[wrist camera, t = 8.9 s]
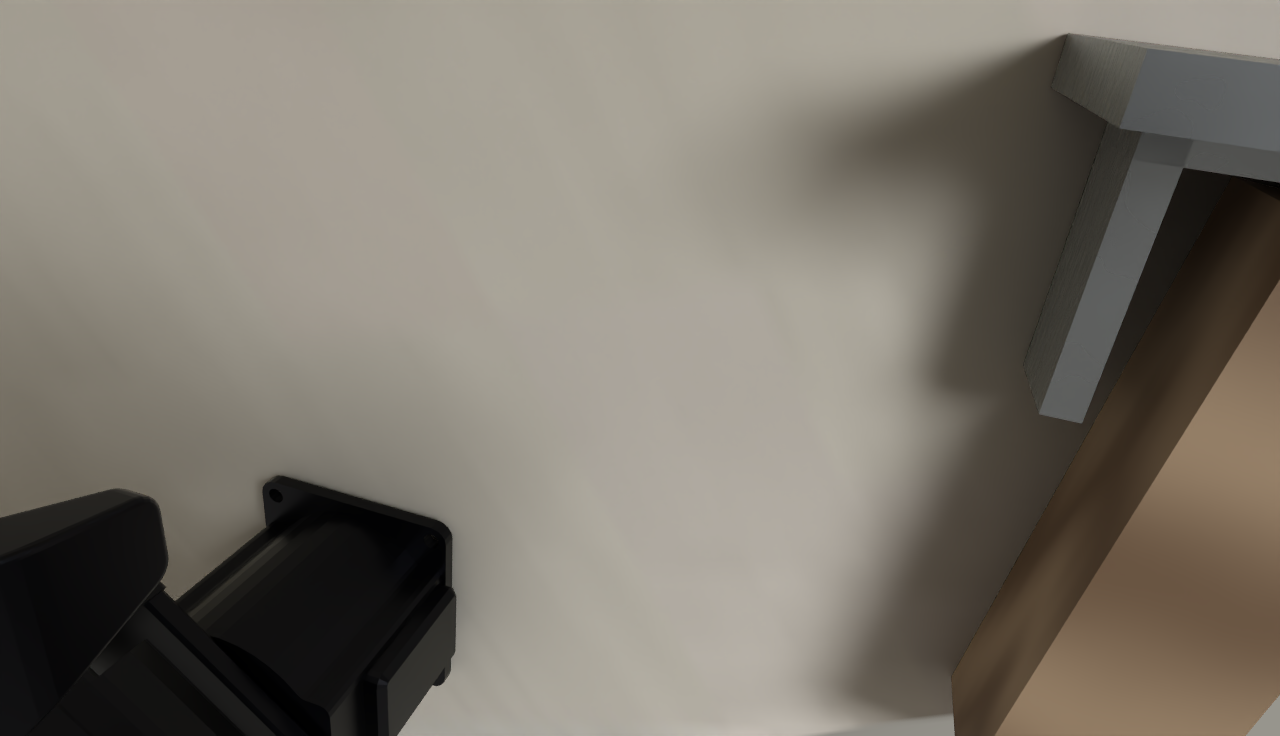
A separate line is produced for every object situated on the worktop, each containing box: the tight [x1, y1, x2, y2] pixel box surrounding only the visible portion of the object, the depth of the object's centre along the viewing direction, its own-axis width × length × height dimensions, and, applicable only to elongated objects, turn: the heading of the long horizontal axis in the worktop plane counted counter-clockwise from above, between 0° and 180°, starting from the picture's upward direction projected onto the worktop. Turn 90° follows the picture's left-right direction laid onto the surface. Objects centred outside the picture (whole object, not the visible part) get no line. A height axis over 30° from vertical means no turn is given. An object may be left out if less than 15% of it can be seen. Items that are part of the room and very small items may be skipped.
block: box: [951, 176, 1280, 736], centre depth 17 cm, size 14×4×4 cm, turn 167°
